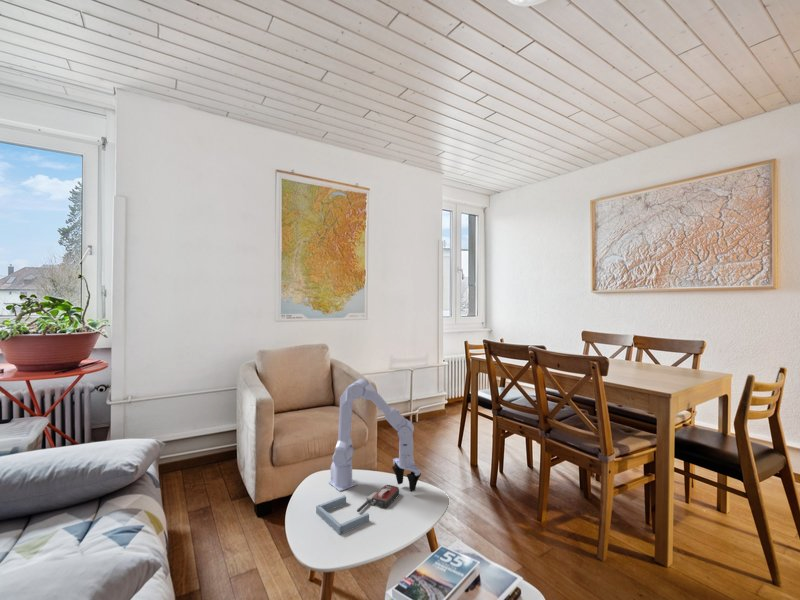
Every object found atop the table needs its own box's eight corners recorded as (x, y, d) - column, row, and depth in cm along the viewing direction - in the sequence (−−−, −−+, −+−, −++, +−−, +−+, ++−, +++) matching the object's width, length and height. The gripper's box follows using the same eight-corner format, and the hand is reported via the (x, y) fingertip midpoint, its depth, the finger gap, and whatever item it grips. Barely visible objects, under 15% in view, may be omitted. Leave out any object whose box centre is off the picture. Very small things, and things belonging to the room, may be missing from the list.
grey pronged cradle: (316, 513, 136) (316, 506, 136) (344, 502, 143) (344, 495, 143) (339, 534, 123) (339, 527, 123) (369, 521, 130) (369, 514, 130)
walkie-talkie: (382, 489, 154) (355, 514, 136) (382, 478, 154) (355, 501, 136) (401, 494, 150) (376, 520, 132) (401, 482, 150) (376, 507, 132)
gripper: (425, 456, 148) (426, 490, 148) (402, 445, 160) (402, 477, 160) (412, 461, 144) (412, 496, 144) (389, 449, 155) (389, 482, 155)
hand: (406, 487), depth 152 cm, fingers open, 7 cm apart
